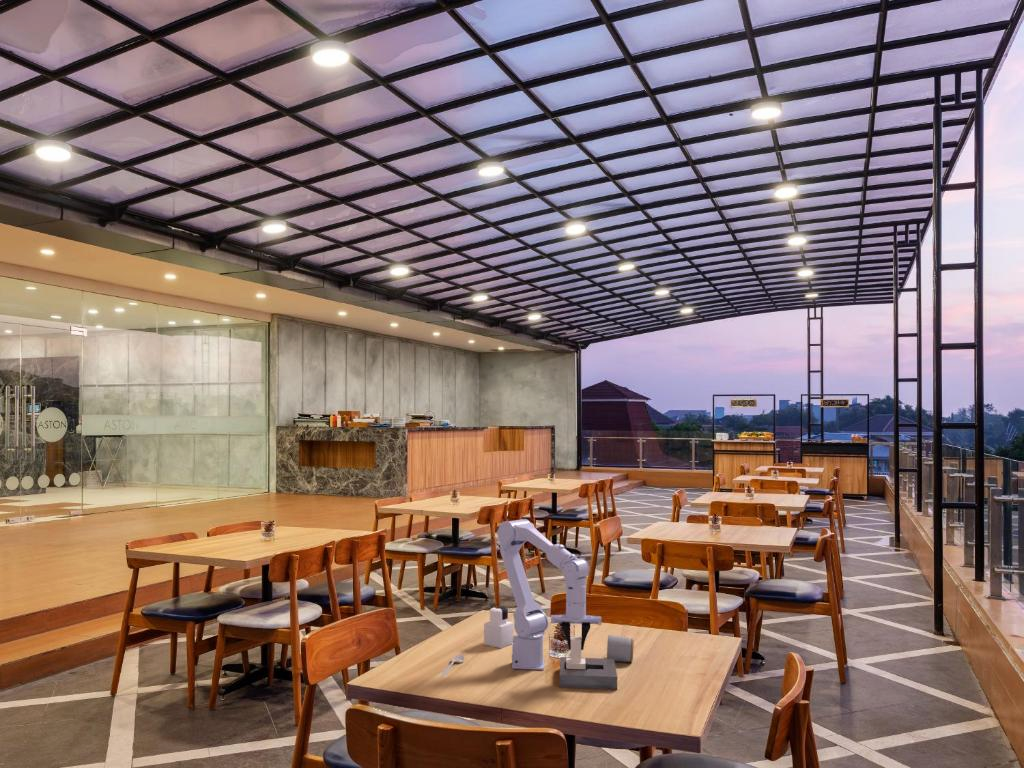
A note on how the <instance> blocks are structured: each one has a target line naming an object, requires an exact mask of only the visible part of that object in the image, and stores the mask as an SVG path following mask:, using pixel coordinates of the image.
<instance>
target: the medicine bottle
mask: <svg viewBox="0 0 1024 768" xmlns="http://www.w3.org/2000/svg"><path fill="white" fill-rule="evenodd" d="M508 620H509V610H508V608H506V607H504V606H493V607H492V608H490V610H489V621H487V622H484V623H483V626H484V628H483V645H484V644H485V645H484V646H488V645H489V646H488V647H492V646H493V648H497V647H498V648H497V649H503V648H505V646H506V647H508V646H511V645H513V644H512V643H513V636H514V622H513V621H508ZM510 644H511V645H510ZM507 645H508V646H507ZM502 647H503V648H502Z"/></svg>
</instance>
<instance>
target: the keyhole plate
mask: <svg viewBox="0 0 1024 768" xmlns="http://www.w3.org/2000/svg"><path fill="white" fill-rule="evenodd" d="M566 658H571V656H570V657H565V656H564V657H563V656H561V657H560V663H559V689H560V688H562V689H589V690H611V691H612V690H615V691H617V690H618V673H617V667H616V661H614V659H607V658H600V657H599V658H597V657H595V658H594V657H584V658H585V663H586V669H566Z"/></svg>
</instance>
